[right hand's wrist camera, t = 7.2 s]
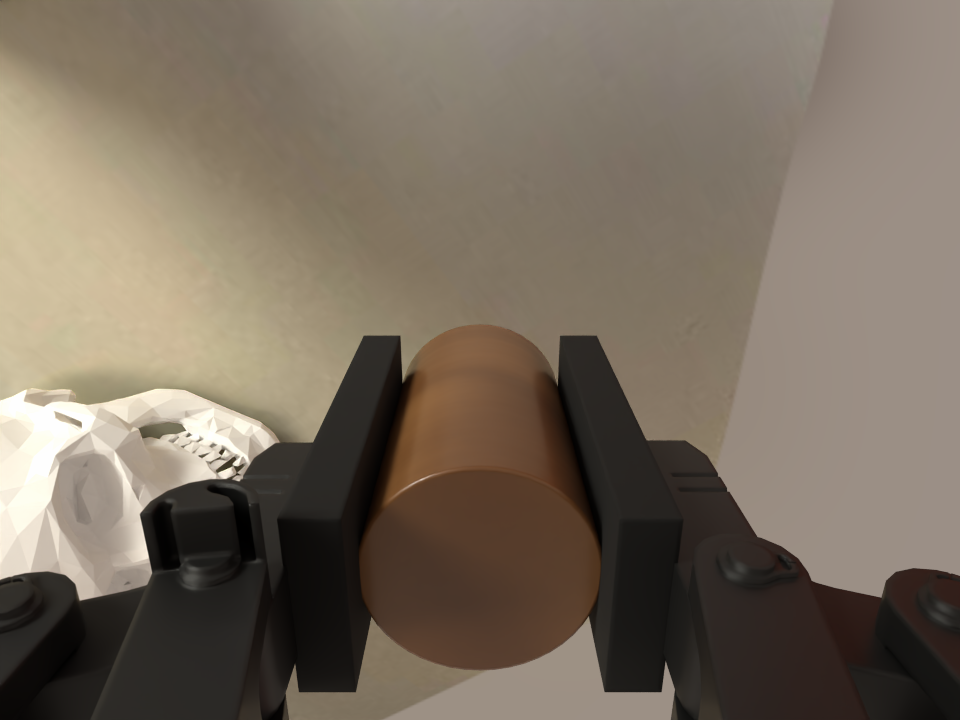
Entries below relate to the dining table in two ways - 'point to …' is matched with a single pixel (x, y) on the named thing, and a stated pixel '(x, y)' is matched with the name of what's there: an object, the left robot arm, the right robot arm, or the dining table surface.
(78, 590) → the skull
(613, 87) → the dining table surface
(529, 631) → the brown wooden cylinder
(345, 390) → the right robot arm
